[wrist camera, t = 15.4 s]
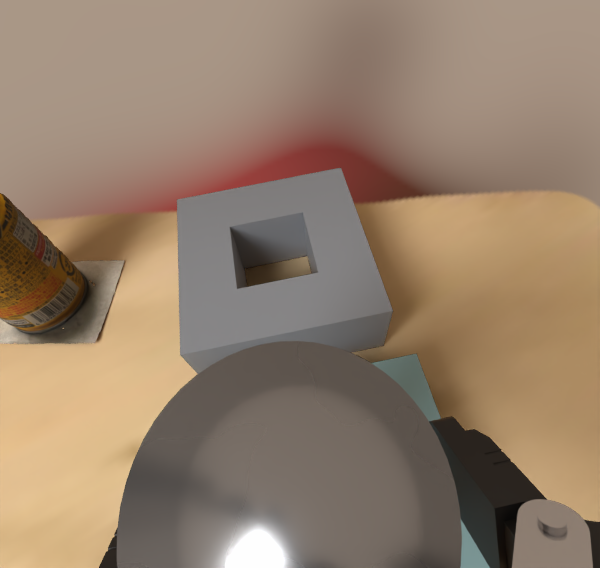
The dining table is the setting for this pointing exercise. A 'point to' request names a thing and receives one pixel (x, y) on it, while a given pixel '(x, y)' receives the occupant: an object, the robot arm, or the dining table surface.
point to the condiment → (48, 286)
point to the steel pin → (290, 470)
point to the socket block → (269, 249)
